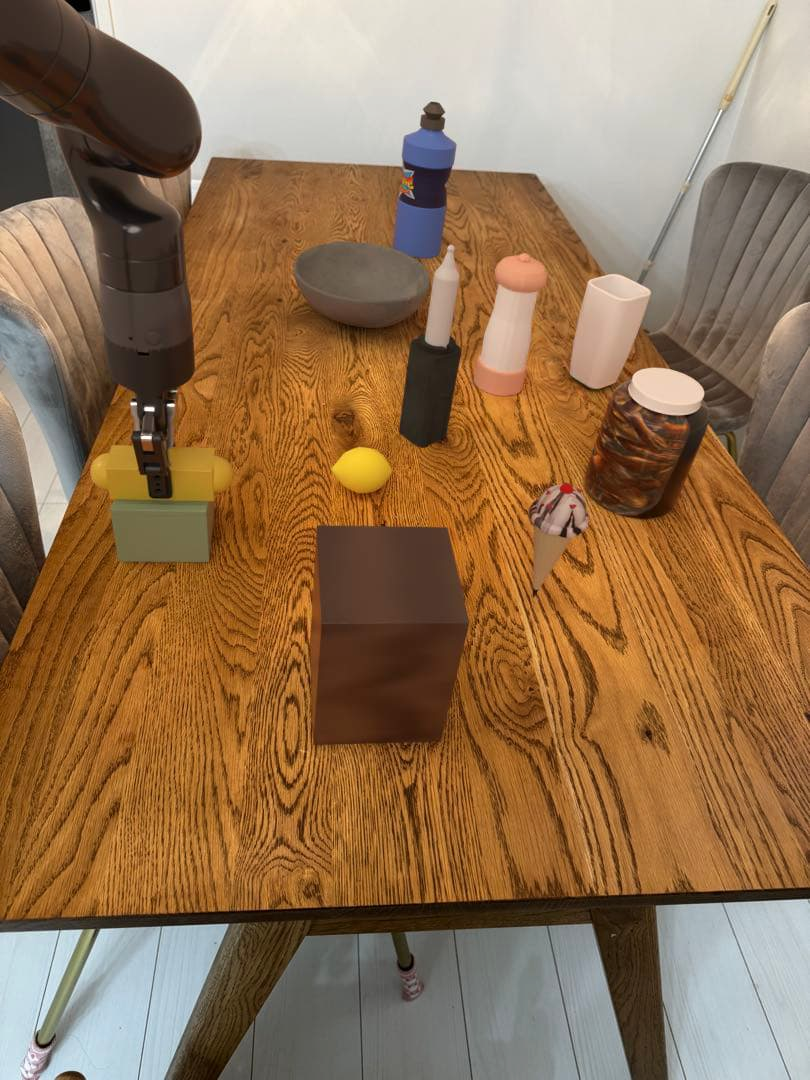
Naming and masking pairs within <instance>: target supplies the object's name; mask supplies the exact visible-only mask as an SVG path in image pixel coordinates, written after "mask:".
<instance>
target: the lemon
mask: <svg viewBox="0 0 810 1080" xmlns="http://www.w3.org/2000/svg"><path fill="white" fill-rule="evenodd" d="M331 472H332V474H333V475H334V476H335V477H336V479H337V480H338V481H339V482H340V484H341V485H342V486H343V487H345V488H346V489H347V490H350V491H352V492H354V493H356V494H358V495H359V494H368V493H369V494H370V493H374V492H376V491H378V490H380V489H382V488H383V487H384V485H385V484H386V483H387V482H388V480H389V479H390V477H391V476H392V473H393V469H392V467H391V465H390V463H389V461H388V460H387V458H386V457H385V455H384V454H382V453H381V452H380V451H379V450H377V449H376V448H372V447H371V448H370V447H363V446H358V447H355V448H351V449H349V450H347V451H345V452H343V453H342V454H341V456H340V457H339V459H338V460H337V461H336V462H335V464H334V465H333V466H332V467H331Z"/></svg>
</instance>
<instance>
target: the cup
mask: <svg viewBox="0 0 810 1080" xmlns="http://www.w3.org/2000/svg"><path fill="white" fill-rule="evenodd" d="M651 294H652V291H651V290H650V289H649V288H648V287H646V286H644V285H642V284H640V283H638V282H636V281H634V280H633V279H630V278H628V277H627V276H624V275H621V274H616V273H609V274H605V275H602V276H599V277H595V278H591V279H589V280H588V281H587V283H586V289H585V292H584V295H583V299H582V303H581V306H580V311H579V315H578V319H577V324H576V328H575V334H574V338H573V343H572V350H571V355H570V356H571V357H570V365H569V375H570V376H571V377H572V379H574V380H575V381H577V382H578V383H580V384H582V385H583V386H585V387H586V388H588V389H591V390H600V389H603V388H606V387H608V386H611V385H613V384H615V383H616V382H617V381H618V379H619V377H620V375H621V372H622V371H623V369H624V366H625V364H626V363H627V360H628V358H629V355H630V353H631V351H632V348H633V346H634V343H635V340H636V338H637V336H638V333H639V330H640V327H641V325H642V321H643V319H644V316H645V314H646V310H647V306H648V304H649V300H650V298H651Z"/></svg>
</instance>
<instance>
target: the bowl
mask: <svg viewBox="0 0 810 1080" xmlns="http://www.w3.org/2000/svg"><path fill="white" fill-rule="evenodd" d="M292 267H293V268H292V269H293V270H292V272H293V277H294V281H295V283H296V285H297V287H298V290H299V291H300V293H301V295H302V297H304V299H305V301H306V302H307V303H308V304H309V305H310V306H311V308H313V309H314V310H315V311H316V312H317V313H319V314H320V315H322V316H323V317H325V318H328V319H329V320H330V321H331V320H332V321H333V322H337V323H339V324H342V325H346V326H353V327H358V328H366V329H383V328H387V327H392V326H394V325H398V324H399V323H401V322H403V321H404V320H406V319H408V318H409V317H410V316H411V315H413V314H414V313H415V312H416V311H417V310H419V308H420V307H421V306H422V304H423V303H424V301H425V300H426V299H427V296H428V294H429V292H430V288H431V276H430V273H429V270H428V269H427V267H426V266H425V265H424V264H423V263H422V262H421V261H419V260H418V259H416V257H411V256H409V255H408V254H406V253H403V252H401V251H399V250H396V249H394V247H389V246H385V245H381V244H376V243H369V242H358V241H346V240H345V241H342V240H341V241H332V242H326V243H322V244H318V245H314V246H311V247H309V248H307V249H305V250H303V251H302V252H301V253H300V254H298V256H297V257H296V258H295V260H294V263H293V265H292Z"/></svg>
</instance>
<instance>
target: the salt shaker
mask: <svg viewBox="0 0 810 1080" xmlns="http://www.w3.org/2000/svg"><path fill="white" fill-rule="evenodd" d="M494 277H495V280H496V282H497V289H496V294H495V300H494V304H493V309H492V312H491V314H490V317H489V320H488V323H487V326H486V328H485V331H484V334H483V340H482V345H481V352H480V354H478V356H477V360H476V365H475V370H474V375H473V380H472V381H473V383H474V385H475V386H476V387H477V388H478V389H479V390H482V391H483V392H484V393H488V394H490V395H494V396H499V397H502V396H503V397H508V396H515V395H517V394H519V393H520V392H521V391H522V390H523V387H524V383H525V378H526V374H527V370H528V363H527V358H528V356H529V351H530V348H531V341H532V326H533V316H534V312H535V307H536V303H537V298H538V294H539V291H541V290H542V289H543V288H544V286H546V284H547V282H548V272H547V269H546V266H544V264H543V263H542V262H540V261H539V260H537V259H535V258H533V257H531V255H530V254H529V253H526V252H524V253H520V254H518V255H509V256H505V257H503V258H502V259H501V260H499V262H498V263H497V264H496V267H495V269H494Z"/></svg>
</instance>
